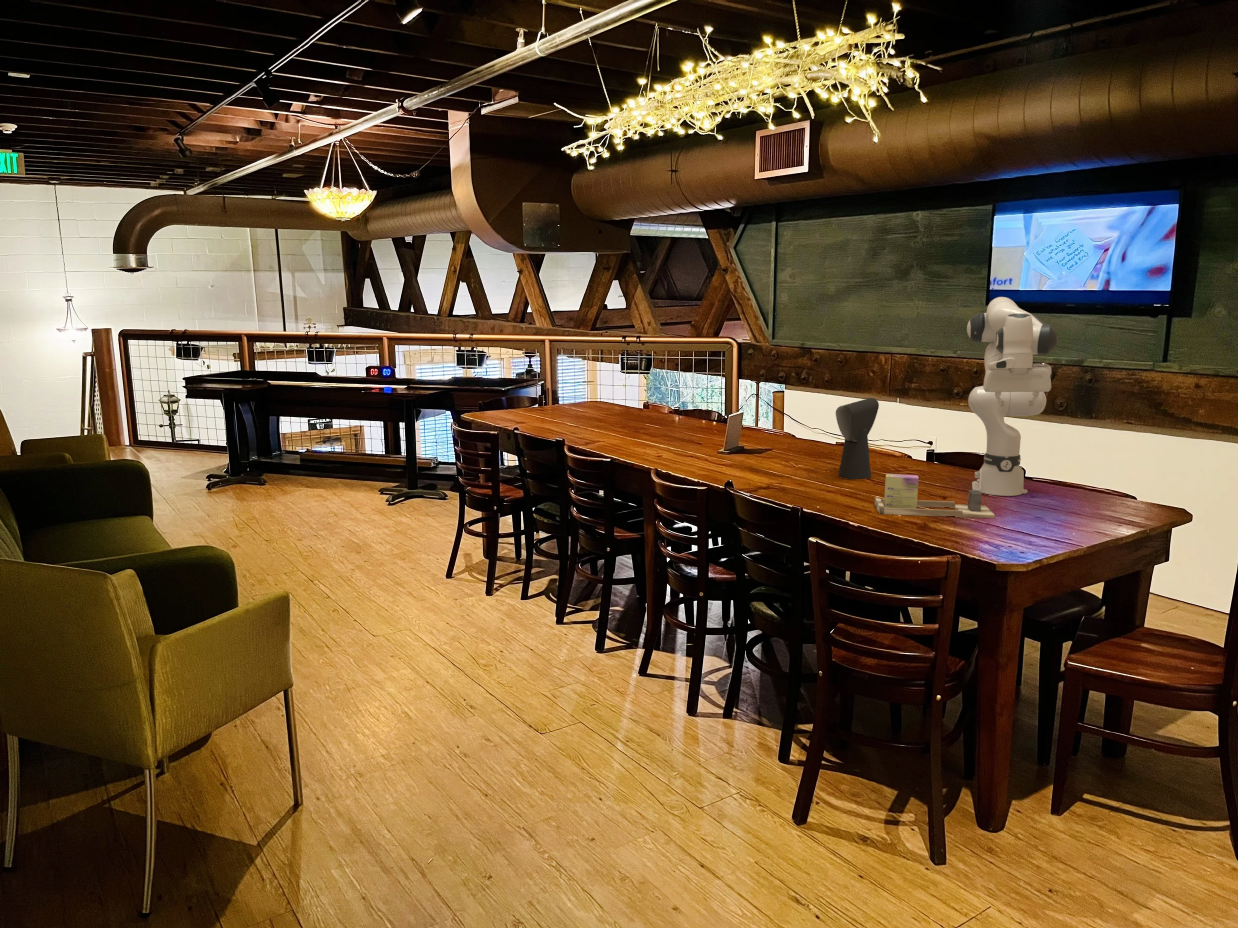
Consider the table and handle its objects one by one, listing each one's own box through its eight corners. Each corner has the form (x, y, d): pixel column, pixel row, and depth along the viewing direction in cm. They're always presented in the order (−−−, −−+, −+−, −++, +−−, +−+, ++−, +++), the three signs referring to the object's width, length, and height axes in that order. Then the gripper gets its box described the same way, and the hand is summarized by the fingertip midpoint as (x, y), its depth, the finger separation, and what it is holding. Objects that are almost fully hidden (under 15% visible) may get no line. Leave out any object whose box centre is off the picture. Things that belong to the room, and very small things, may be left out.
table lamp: (887, 490, 327) (891, 409, 322) (809, 488, 332) (812, 408, 326) (874, 470, 366) (878, 397, 360) (805, 468, 370) (807, 396, 365)
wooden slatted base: (874, 504, 305) (875, 484, 304) (984, 508, 299) (986, 487, 298) (879, 514, 292) (880, 493, 290) (994, 518, 286) (996, 497, 284)
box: (915, 509, 298) (917, 474, 296) (916, 513, 293) (918, 477, 291) (883, 507, 301) (885, 473, 299) (883, 511, 296) (885, 476, 294)
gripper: (1048, 363, 290) (1047, 406, 291) (982, 364, 293) (981, 406, 294) (1054, 362, 283) (1053, 406, 284) (987, 363, 286) (986, 406, 287)
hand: (1016, 406), depth 289 cm, fingers open, 8 cm apart
